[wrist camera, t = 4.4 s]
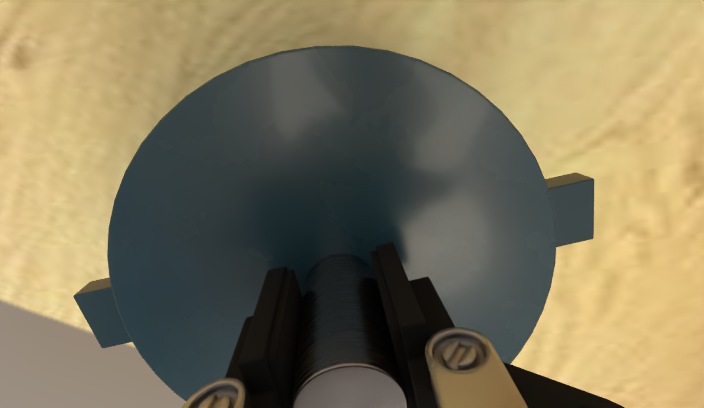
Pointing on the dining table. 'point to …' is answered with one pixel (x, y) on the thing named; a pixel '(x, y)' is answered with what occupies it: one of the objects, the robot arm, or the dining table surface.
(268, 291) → the robot arm
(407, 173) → the pot lid
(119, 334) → the pot
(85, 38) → the dining table surface
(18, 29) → the dining table surface
